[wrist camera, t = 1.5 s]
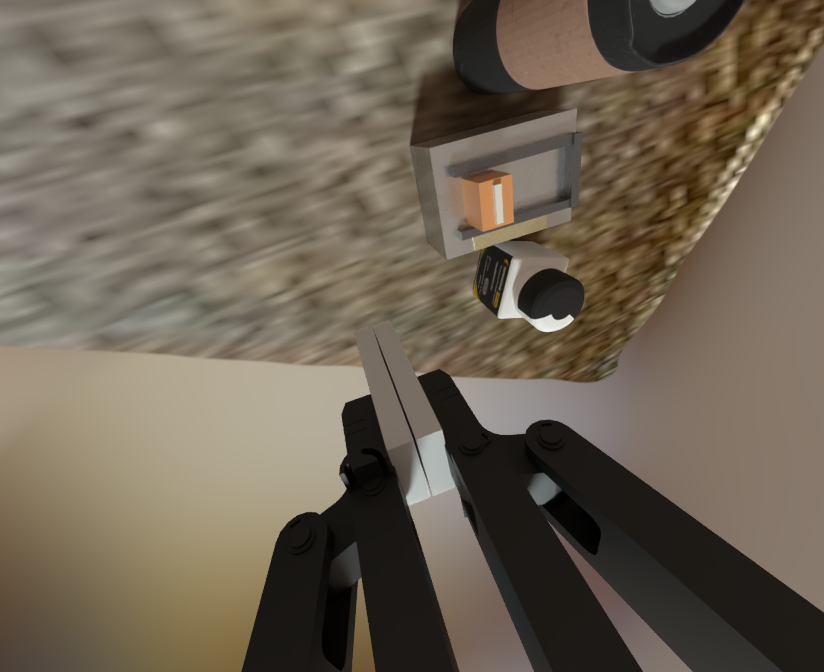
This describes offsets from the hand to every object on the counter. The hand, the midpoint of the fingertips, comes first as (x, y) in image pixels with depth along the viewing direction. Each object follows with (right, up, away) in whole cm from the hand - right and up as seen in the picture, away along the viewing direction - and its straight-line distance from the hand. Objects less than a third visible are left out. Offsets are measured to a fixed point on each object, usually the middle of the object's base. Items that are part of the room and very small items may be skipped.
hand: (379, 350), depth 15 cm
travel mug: (+8, +27, +16) cm, 33 cm away
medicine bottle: (+13, +9, +29) cm, 33 cm away
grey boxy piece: (+9, +18, +22) cm, 29 cm away
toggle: (+8, +14, +17) cm, 23 cm away
